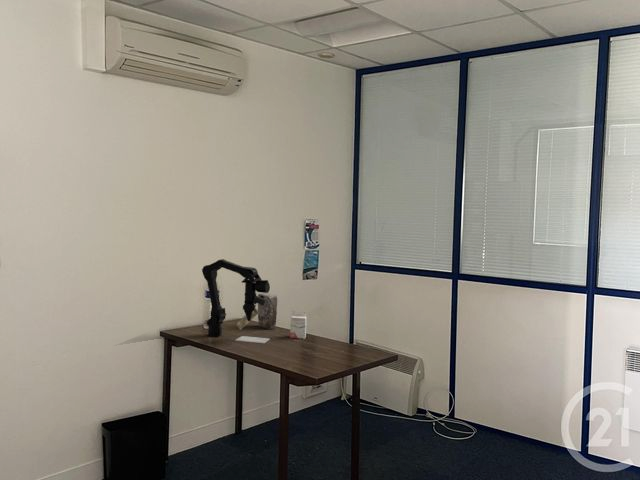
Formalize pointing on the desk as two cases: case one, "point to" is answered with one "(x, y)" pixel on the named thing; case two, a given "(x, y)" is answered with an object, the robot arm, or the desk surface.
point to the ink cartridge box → (298, 324)
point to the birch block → (245, 320)
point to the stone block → (267, 311)
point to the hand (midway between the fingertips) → (249, 320)
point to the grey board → (252, 339)
